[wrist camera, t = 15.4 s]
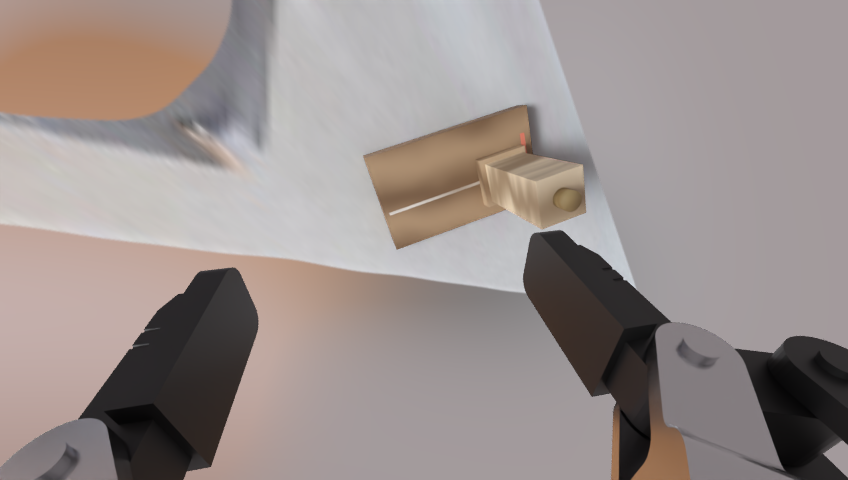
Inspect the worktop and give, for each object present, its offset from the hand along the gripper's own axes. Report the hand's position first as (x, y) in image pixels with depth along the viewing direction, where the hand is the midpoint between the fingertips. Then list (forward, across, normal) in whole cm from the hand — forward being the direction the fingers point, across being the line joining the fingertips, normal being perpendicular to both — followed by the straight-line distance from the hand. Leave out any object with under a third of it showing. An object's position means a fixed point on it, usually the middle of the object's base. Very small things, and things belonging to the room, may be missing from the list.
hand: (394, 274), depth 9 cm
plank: (+25, -8, +8) cm, 27 cm away
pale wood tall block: (+23, -13, +7) cm, 28 cm away
